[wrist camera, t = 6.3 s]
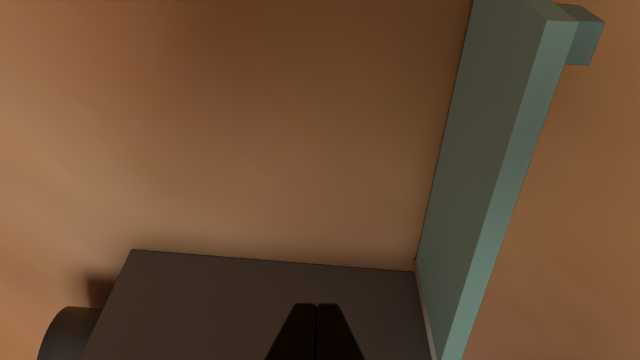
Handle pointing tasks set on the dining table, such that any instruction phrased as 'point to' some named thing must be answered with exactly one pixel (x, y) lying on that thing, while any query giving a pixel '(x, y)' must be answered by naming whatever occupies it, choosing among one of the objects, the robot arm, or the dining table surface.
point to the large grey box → (234, 310)
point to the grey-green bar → (490, 151)
